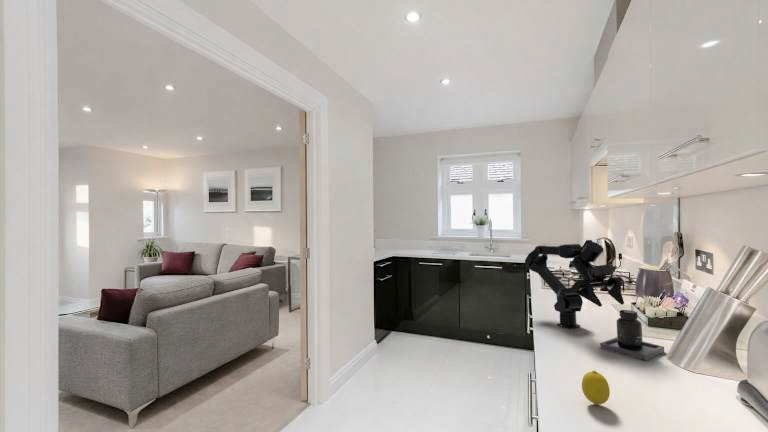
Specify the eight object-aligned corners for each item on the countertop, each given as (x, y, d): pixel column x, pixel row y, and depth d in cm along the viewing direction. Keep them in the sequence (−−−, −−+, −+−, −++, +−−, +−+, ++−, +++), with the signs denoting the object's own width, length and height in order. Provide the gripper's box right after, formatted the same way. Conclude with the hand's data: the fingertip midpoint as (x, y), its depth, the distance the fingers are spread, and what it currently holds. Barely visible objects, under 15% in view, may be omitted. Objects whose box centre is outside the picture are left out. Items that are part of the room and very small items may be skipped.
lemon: (599, 398, 81) (597, 365, 81) (616, 411, 75) (614, 375, 75) (577, 399, 80) (575, 366, 81) (592, 412, 75) (590, 376, 75)
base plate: (620, 340, 119) (619, 335, 119) (664, 352, 107) (664, 346, 107) (600, 348, 112) (599, 343, 112) (645, 361, 101) (644, 355, 101)
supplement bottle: (645, 352, 105) (643, 314, 106) (619, 349, 109) (617, 312, 109) (640, 345, 111) (638, 309, 112) (616, 343, 115) (614, 308, 115)
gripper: (575, 257, 121) (602, 293, 110) (618, 255, 124) (648, 289, 113) (561, 276, 128) (584, 311, 117) (602, 273, 132) (629, 307, 121)
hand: (612, 305), depth 117 cm, fingers open, 9 cm apart
